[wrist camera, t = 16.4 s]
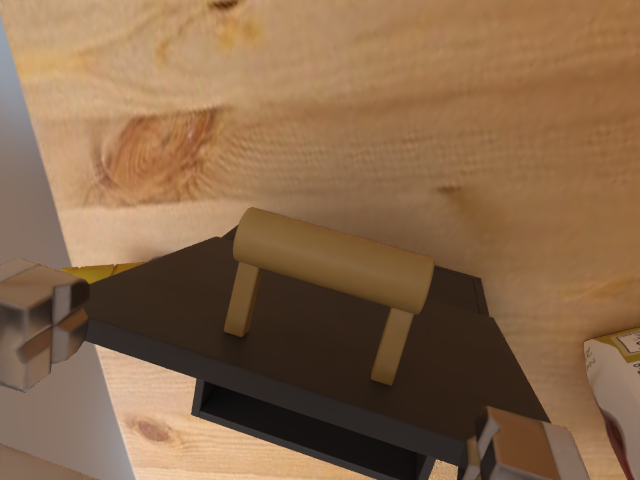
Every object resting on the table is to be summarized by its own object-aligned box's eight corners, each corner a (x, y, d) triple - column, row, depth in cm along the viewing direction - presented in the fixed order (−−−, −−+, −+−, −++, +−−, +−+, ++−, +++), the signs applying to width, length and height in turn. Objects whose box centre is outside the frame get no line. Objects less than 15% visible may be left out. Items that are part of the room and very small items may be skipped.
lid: (574, 507, 13) (644, 334, 12) (36, 325, 15) (60, 166, 14) (489, 331, 27) (519, 243, 26) (212, 248, 29) (230, 165, 28)
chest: (423, 431, 37) (422, 495, 32) (225, 366, 39) (190, 415, 34) (481, 278, 33) (491, 320, 27) (252, 213, 35) (217, 240, 29)
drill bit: (164, 323, 40) (34, 296, 33) (190, 262, 40) (66, 222, 33) (195, 348, 36) (56, 322, 29) (223, 280, 36) (91, 239, 30)
